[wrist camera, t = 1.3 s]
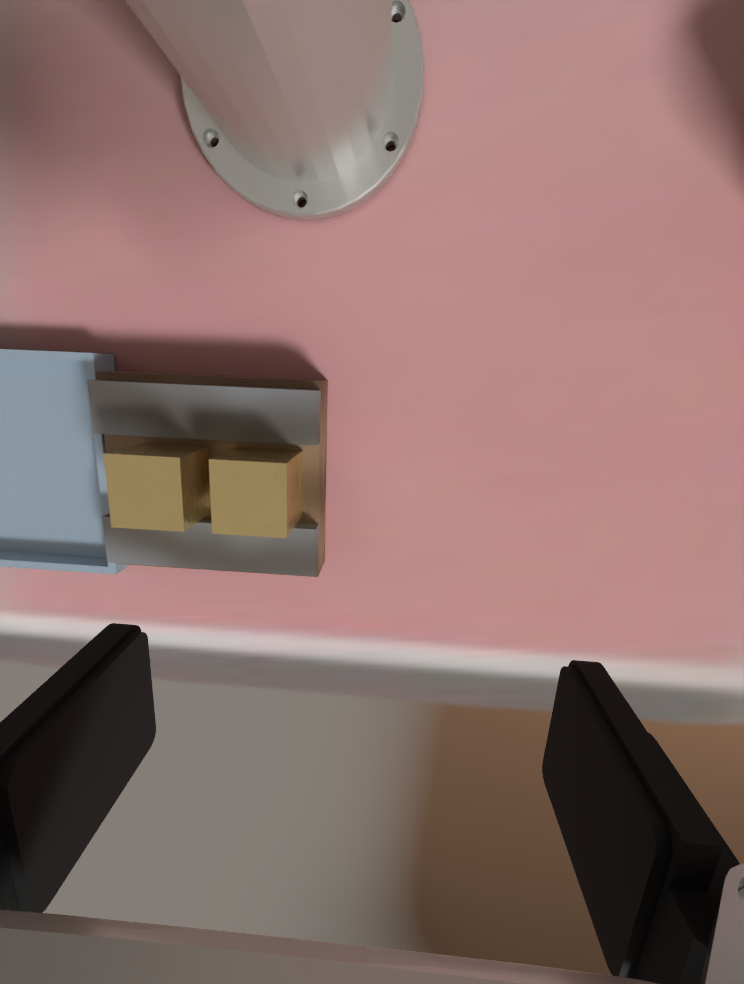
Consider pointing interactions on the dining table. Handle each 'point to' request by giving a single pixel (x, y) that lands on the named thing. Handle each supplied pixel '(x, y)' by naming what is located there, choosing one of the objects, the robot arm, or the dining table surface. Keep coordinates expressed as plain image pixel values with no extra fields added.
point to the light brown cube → (256, 491)
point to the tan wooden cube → (158, 486)
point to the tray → (51, 463)
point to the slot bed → (222, 425)
